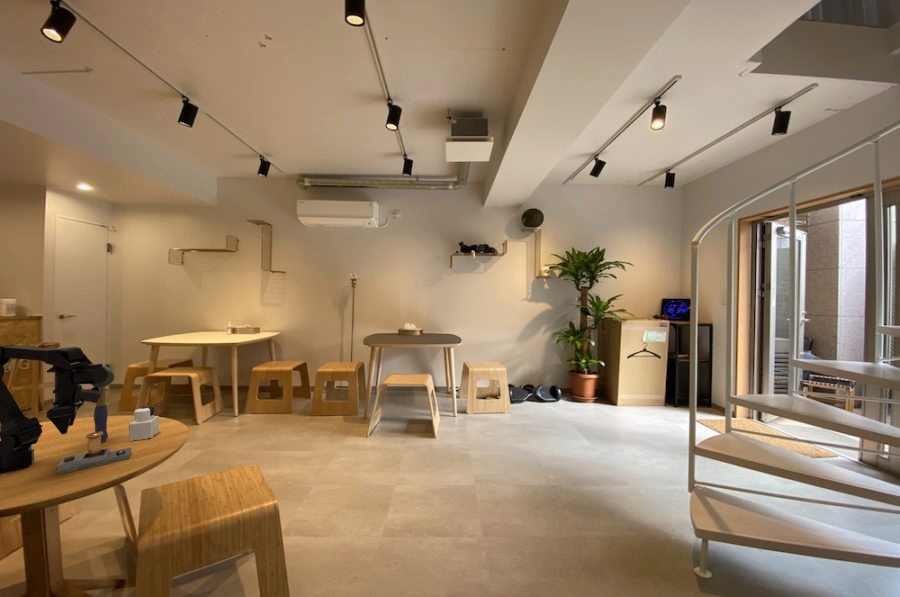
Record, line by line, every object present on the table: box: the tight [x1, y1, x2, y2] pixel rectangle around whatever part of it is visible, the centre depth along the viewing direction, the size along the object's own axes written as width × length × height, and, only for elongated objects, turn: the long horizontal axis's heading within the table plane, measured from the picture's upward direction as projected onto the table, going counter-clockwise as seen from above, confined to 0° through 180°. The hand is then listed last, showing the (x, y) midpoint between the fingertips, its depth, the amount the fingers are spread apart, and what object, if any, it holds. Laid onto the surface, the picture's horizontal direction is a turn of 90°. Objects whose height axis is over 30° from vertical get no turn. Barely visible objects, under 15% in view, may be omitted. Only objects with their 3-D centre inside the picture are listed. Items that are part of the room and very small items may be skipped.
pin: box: [85, 431, 103, 458], centre depth 118 cm, size 4×4×10 cm
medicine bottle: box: [128, 405, 160, 442], centre depth 139 cm, size 7×7×12 cm
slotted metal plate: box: [57, 447, 132, 475], centre depth 118 cm, size 17×7×4 cm, turn 130°
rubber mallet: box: [90, 365, 116, 443], centre depth 134 cm, size 12×8×30 cm, turn 50°
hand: (67, 429), depth 116 cm, fingers open, 9 cm apart
